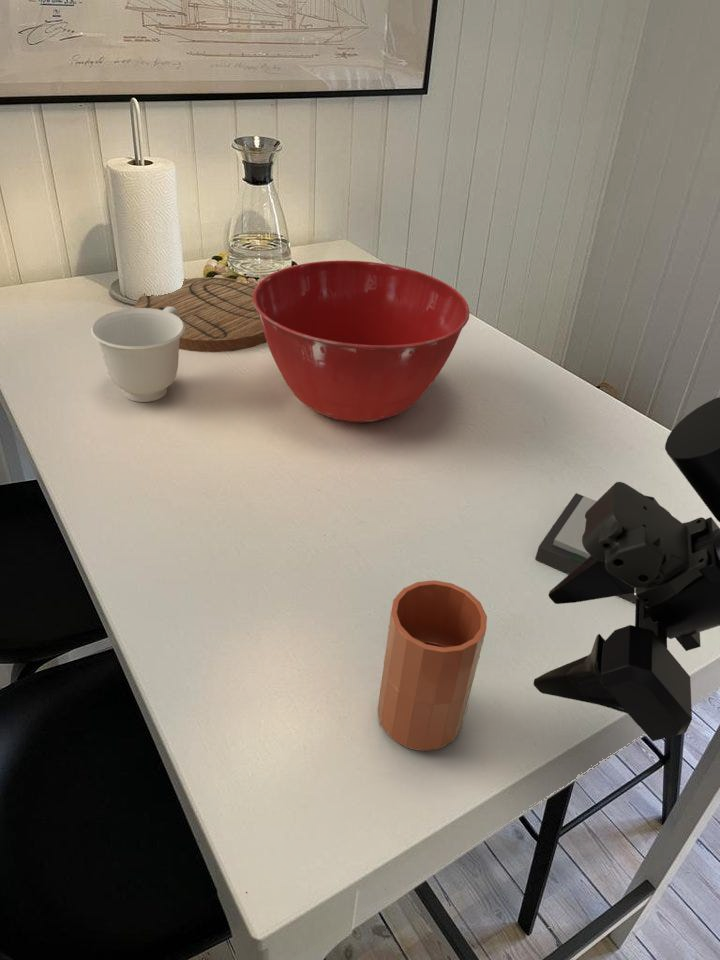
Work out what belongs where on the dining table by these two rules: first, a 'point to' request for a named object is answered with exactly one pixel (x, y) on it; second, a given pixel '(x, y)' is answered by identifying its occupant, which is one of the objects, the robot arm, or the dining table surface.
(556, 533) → the scale
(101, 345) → the teacup
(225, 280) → the trivet
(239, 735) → the dining table surface
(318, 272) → the mixing bowl
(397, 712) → the orange faceted cup
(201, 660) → the dining table surface
